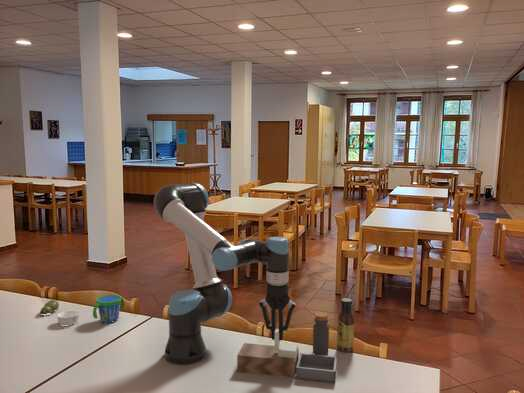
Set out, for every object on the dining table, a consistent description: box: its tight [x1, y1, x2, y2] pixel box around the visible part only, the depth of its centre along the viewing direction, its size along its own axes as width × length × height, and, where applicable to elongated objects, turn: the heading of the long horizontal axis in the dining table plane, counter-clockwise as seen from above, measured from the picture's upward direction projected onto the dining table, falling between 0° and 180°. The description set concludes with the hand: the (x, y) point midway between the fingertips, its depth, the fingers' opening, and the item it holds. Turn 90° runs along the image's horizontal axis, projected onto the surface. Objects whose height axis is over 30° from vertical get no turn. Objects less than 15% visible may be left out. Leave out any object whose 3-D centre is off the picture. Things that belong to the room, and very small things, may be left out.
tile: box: [278, 341, 299, 358], centre depth 159 cm, size 6×6×2 cm
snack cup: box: [92, 294, 126, 323], centre depth 203 cm, size 16×10×10 cm
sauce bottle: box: [336, 297, 355, 353], centre depth 176 cm, size 6×6×20 cm
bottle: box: [312, 311, 330, 356], centre depth 173 cm, size 6×6×15 cm
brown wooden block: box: [236, 342, 300, 379], centre depth 161 cm, size 20×10×6 cm, turn 78°
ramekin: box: [56, 309, 80, 325], centre depth 200 cm, size 9×9×4 cm
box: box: [295, 352, 338, 384], centre depth 158 cm, size 13×11×4 cm
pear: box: [39, 299, 60, 315], centre depth 213 cm, size 6×5×10 cm
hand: (277, 348), depth 160 cm, fingers closed
